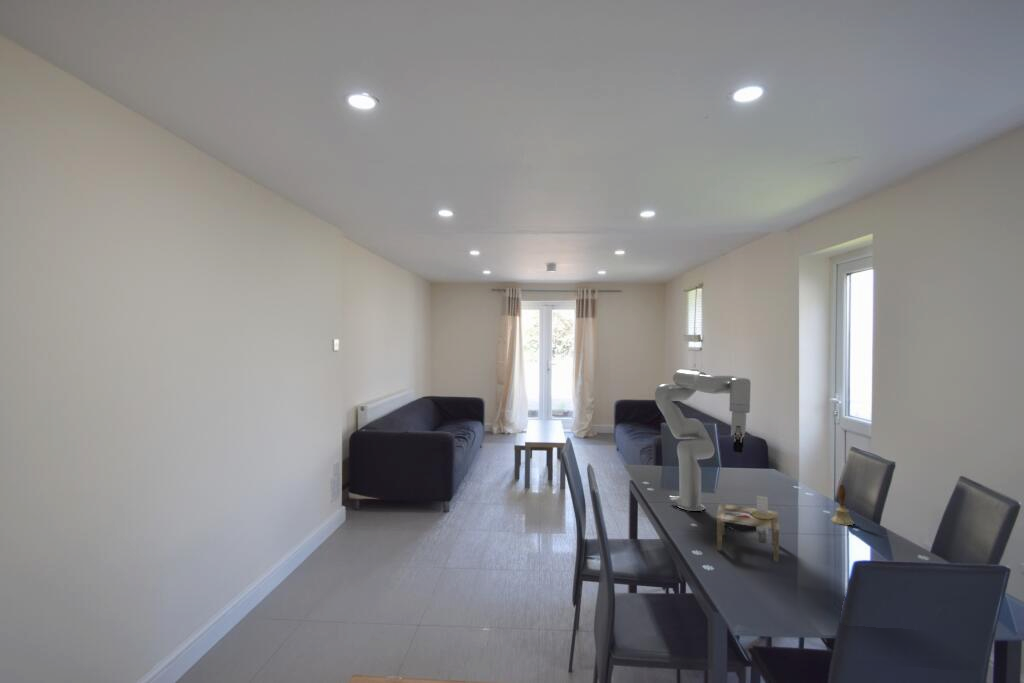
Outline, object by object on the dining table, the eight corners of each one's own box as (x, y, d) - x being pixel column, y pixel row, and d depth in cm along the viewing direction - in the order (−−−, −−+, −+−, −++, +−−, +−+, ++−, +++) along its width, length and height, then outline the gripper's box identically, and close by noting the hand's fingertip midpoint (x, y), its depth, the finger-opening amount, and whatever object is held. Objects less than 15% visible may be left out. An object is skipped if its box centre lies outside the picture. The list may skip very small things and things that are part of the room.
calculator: (716, 513, 198) (745, 508, 202) (717, 523, 198) (746, 518, 202) (735, 522, 187) (765, 517, 191) (735, 533, 187) (766, 528, 191)
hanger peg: (751, 543, 168) (751, 498, 168) (751, 536, 174) (751, 493, 175) (773, 546, 165) (773, 501, 165) (773, 539, 171) (772, 496, 171)
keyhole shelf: (716, 550, 168) (716, 517, 169) (719, 533, 184) (719, 503, 185) (779, 562, 159) (779, 527, 159) (777, 543, 175) (777, 511, 175)
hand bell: (829, 522, 198) (829, 484, 198) (832, 517, 204) (832, 481, 204) (853, 527, 192) (852, 488, 192) (855, 522, 198) (855, 484, 198)
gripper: (730, 404, 199) (729, 444, 199) (728, 409, 184) (726, 452, 184) (750, 406, 195) (749, 446, 196) (749, 411, 180) (747, 455, 180)
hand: (738, 449), depth 190 cm, fingers open, 9 cm apart
